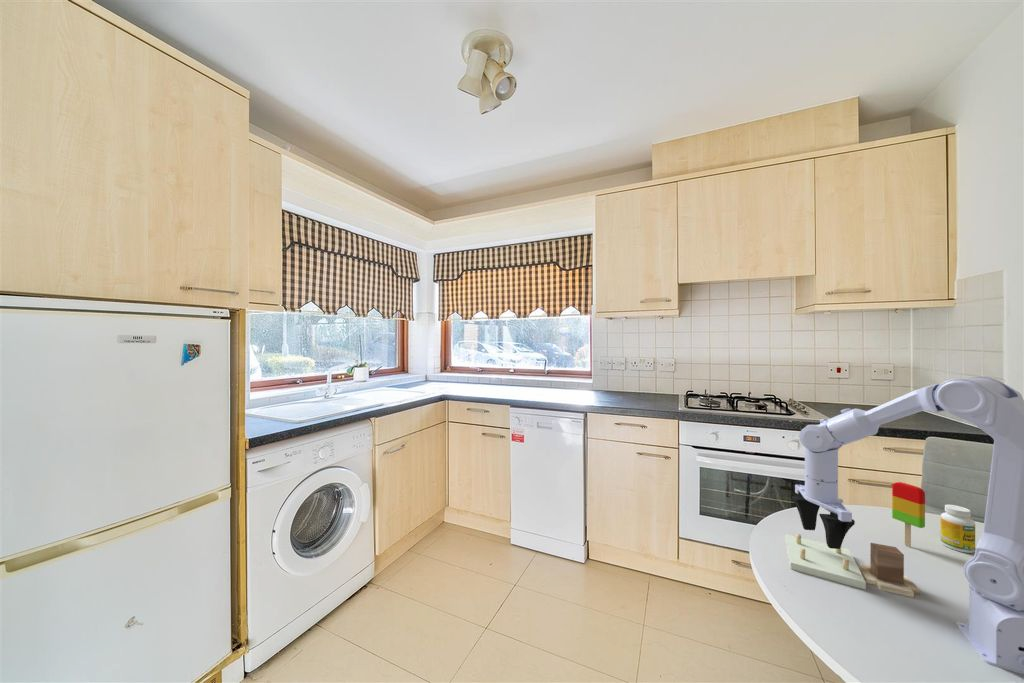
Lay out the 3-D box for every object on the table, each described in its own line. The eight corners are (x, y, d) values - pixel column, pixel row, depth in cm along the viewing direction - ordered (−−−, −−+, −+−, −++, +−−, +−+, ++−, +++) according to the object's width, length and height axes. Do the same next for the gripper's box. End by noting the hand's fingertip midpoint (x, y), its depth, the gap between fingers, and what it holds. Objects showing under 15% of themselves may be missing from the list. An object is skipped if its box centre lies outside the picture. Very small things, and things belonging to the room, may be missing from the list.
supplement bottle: (949, 540, 91) (950, 502, 91) (981, 552, 86) (981, 511, 86) (934, 542, 90) (934, 504, 90) (965, 555, 85) (965, 514, 85)
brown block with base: (925, 600, 70) (925, 564, 70) (870, 588, 74) (870, 553, 74) (901, 576, 77) (902, 543, 77) (853, 566, 81) (853, 534, 81)
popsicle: (890, 540, 91) (891, 480, 91) (895, 539, 91) (896, 480, 91) (920, 553, 86) (921, 489, 86) (925, 552, 86) (926, 488, 86)
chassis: (865, 589, 73) (865, 572, 73) (790, 569, 79) (790, 553, 79) (849, 555, 85) (849, 540, 85) (784, 540, 91) (784, 526, 91)
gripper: (868, 492, 74) (868, 558, 74) (817, 467, 89) (816, 523, 89) (830, 490, 75) (830, 556, 75) (786, 466, 90) (785, 521, 90)
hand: (820, 538), depth 82 cm, fingers open, 7 cm apart
